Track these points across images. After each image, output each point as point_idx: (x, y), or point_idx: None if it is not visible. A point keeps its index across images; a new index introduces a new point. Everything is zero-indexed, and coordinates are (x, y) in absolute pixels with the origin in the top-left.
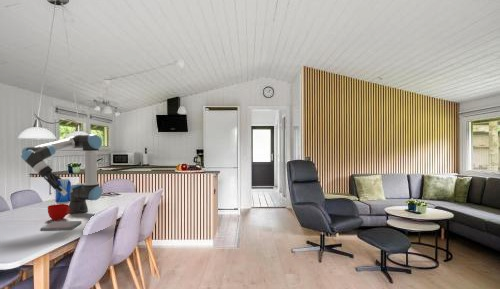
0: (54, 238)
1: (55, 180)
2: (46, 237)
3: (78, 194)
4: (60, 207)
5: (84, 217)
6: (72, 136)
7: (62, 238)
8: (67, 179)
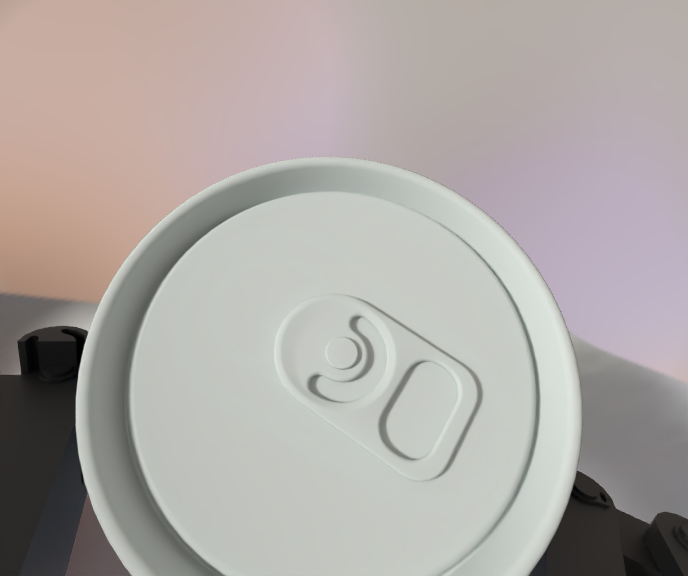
0: (615, 422)
1: None
2: (591, 477)
3: None
4: None
5: (42, 316)
6: None
7: (617, 378)
8: (181, 230)
